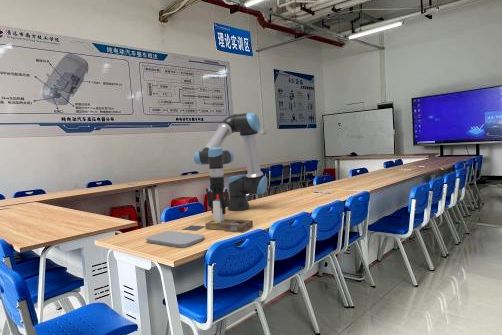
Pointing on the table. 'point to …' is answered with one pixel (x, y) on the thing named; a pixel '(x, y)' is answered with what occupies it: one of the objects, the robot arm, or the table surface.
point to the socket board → (230, 225)
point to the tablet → (175, 239)
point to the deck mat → (193, 228)
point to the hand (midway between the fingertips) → (219, 219)
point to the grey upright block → (217, 211)
